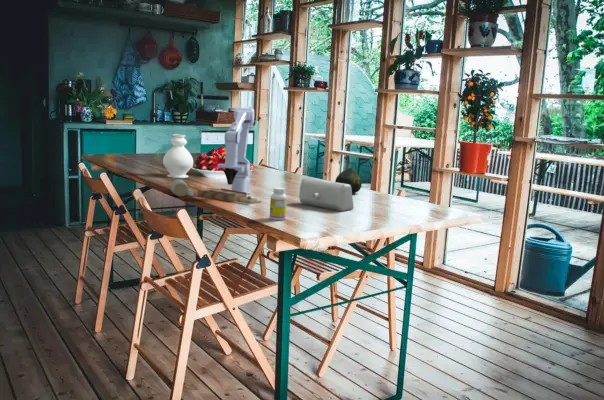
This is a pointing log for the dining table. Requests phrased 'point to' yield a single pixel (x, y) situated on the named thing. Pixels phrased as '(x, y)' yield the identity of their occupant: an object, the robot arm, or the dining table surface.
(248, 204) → the mat
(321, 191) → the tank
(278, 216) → the supplement bottle
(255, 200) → the lever cap
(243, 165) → the robot arm
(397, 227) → the dining table surface
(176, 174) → the decorative vase
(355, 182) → the squash
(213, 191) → the body
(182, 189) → the ceramic mug
